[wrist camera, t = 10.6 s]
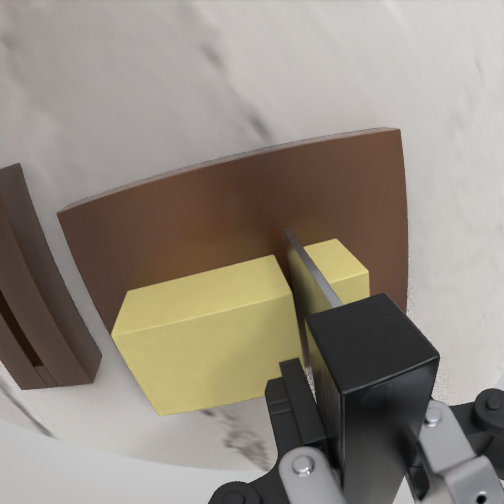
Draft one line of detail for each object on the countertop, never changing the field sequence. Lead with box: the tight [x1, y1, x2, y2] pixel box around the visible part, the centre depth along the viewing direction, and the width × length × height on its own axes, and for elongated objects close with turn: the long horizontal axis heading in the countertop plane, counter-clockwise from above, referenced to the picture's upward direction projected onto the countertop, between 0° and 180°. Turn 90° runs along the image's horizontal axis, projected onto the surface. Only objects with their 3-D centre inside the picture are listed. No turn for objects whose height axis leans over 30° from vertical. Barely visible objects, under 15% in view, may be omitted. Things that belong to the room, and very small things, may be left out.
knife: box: [282, 228, 440, 504], centre depth 11 cm, size 2×9×9 cm, turn 12°
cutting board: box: [57, 127, 408, 368], centre depth 16 cm, size 16×12×2 cm
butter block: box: [111, 255, 307, 416], centre depth 14 cm, size 7×5×4 cm
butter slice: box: [303, 239, 370, 305], centre depth 14 cm, size 2×5×4 cm, turn 12°
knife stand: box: [0, 163, 102, 390], centre depth 14 cm, size 6×12×2 cm, turn 12°
